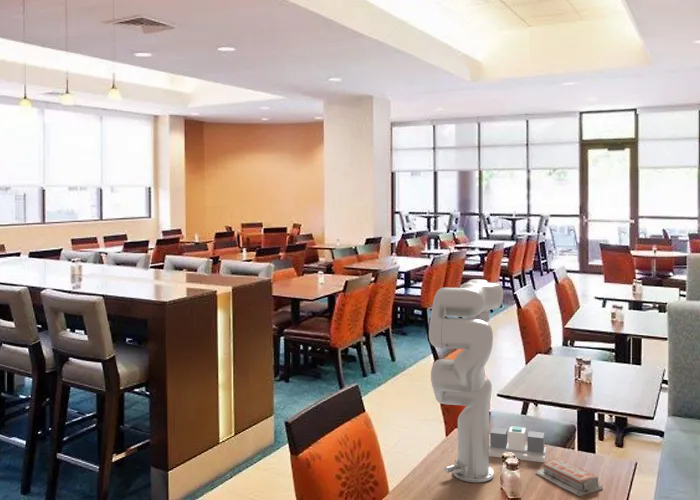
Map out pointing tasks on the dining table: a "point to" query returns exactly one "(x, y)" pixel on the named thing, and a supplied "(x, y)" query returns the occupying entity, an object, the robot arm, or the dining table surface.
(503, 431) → the rail board
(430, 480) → the dining table surface
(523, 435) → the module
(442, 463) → the dining table surface
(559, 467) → the packaged product
